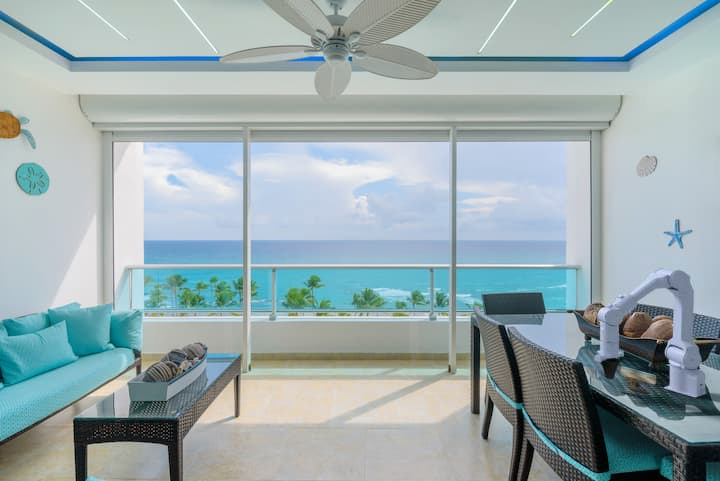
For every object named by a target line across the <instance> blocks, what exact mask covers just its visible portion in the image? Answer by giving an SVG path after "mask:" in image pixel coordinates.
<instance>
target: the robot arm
mask: <svg viewBox="0 0 720 481" xmlns="http://www.w3.org/2000/svg"><path fill="white" fill-rule="evenodd" d="M657 289H667V290H668V291H669V292H670V293H671V294H673V315H672V316H673V318H672V319H673V320H672V321H673V322H672V324H673V325H672V338H670V339H669V340H668V341H667V345H666V347H665V350H664V355H665V356H664V357H665V358H666V359H668V363H669V385H667V386H664V390H668V391H672V392H675V393H678V394H682V395H684V396H689V397H693V398H695V399H696V398H698V397H701V396H704V395H707V391H706V374H705V372H704V371H703V370H700V369H698V367H700V365H701V363H702V356H701V354H700V347H699V346H698V345H697V344H696V343H695V342H694V340H693V337H694V335H693V334H694V333H693V332H694V306H695V305H694V302H695V300H694V299H695V298H694V297H695V290H694V288H693V286H692V283H691V276H690V275H689V274H687V273H686V272H685V271H683V270H682V269H681V270H680V269H667V268H663V267H661V268H660V267H659V268H657V269H655V270H654V271H653V272H651V273H649V275H648V277H647V278H646V279H645V280H644V281H642V282H641V283H640V284H639V285H638V286H637V287H636V288H634V289H633V290H632V291H631V292H630V293H629V294H628V293H623V294H618V296H617V299H615V300H614V301H613V302H611V303H608V304H607V306H605V307H601V308H599V310H598V312H597V313H596V314H595V315H596V318H597V320H598V321H599V327H600V328H599V335H600V336H599V342H600V343H599V348H600V349H599V350H596V351H597V354H595V355H594V362H599V364H600V365H601V368H602V370H603V373H604V377H605V379H608V380H611V381H612V380H614V379H615V376H616V372H617V369H618V367H619V365H620V364H621V363H622V362H621V360H622V359H619V358H620V357H621V358H622V357H624V356H625V354H624V353H625V351H624V350H621V349H620V332H619V331H620V326H619V325H621V324H622V322H623V320H624V317H625V316H626V315H627V314H629V313H630V312H632V311H633V310H634V309H635V308H637V307H638V302H639V301H640V300H642V299H643V298H645V297H647V295H649V294H651V293H652V292H654V291H656V290H657Z"/></svg>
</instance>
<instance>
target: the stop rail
mask: <svg viewBox="0 0 720 481" xmlns="http://www.w3.org/2000/svg"><path fill="white" fill-rule="evenodd" d="M620 375H621V376H624V377H633V378H635V379H637V380H639V381H640V382H643V383H648V384H651V385H657V375H656V374H653V373H648V372H645V371H641V370H637V369H633V368H631V367H626V366H623V365H622V366H620Z"/></svg>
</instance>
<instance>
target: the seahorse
mask: <svg viewBox="0 0 720 481" xmlns="http://www.w3.org/2000/svg"><path fill="white" fill-rule="evenodd" d="M624 380H625V381H626V382H627V383H628V384H629V385H628V387H630V389H632V390H634V391H636V392H640V393H642V394H647V395H648V394H650V393H651V392H650V391H649V390H647V389H646V388H642V389H641V388H639V387H637V386H638V384H642V383H643V381H640V380H637V379H635V378H633V377H627V376H625V379H624Z"/></svg>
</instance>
